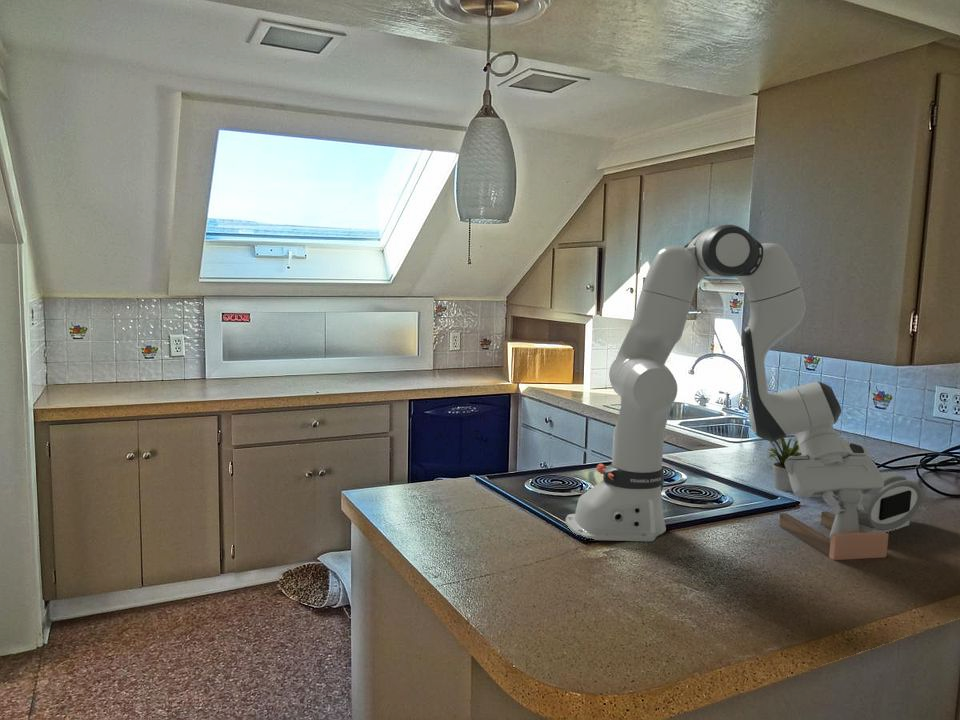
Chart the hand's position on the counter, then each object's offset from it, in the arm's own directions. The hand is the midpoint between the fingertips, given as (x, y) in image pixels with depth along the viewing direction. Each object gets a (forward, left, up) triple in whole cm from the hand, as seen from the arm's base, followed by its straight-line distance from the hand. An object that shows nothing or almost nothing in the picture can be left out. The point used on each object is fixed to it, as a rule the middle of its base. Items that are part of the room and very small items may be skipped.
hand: (850, 512), depth 156 cm
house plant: (+11, +42, -9) cm, 44 cm away
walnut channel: (0, +6, -8) cm, 10 cm away
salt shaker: (0, +1, -8) cm, 9 cm away
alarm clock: (+17, +11, -9) cm, 22 cm away
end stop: (0, -4, -8) cm, 9 cm away
